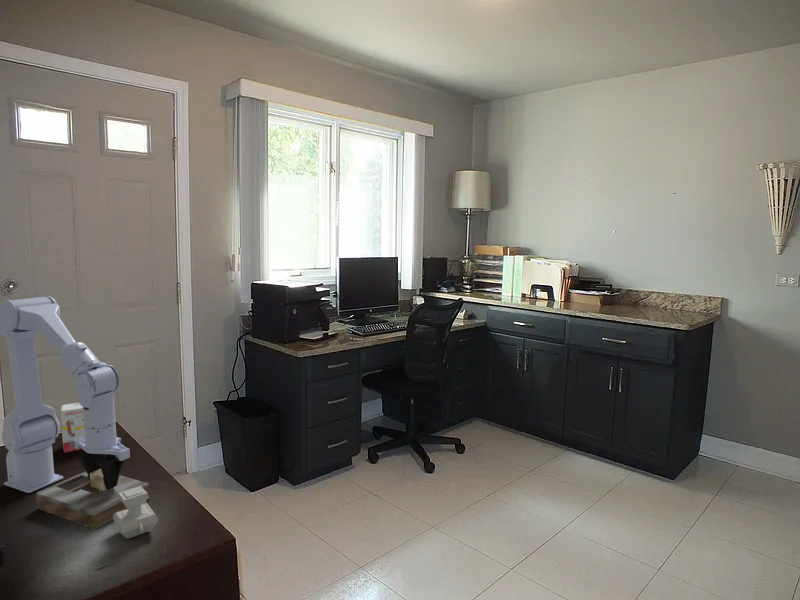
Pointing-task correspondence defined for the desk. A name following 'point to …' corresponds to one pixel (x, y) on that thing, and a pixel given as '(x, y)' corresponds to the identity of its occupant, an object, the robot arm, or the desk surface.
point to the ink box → (72, 425)
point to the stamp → (134, 513)
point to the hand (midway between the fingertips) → (104, 485)
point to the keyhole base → (78, 514)
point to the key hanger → (100, 482)
